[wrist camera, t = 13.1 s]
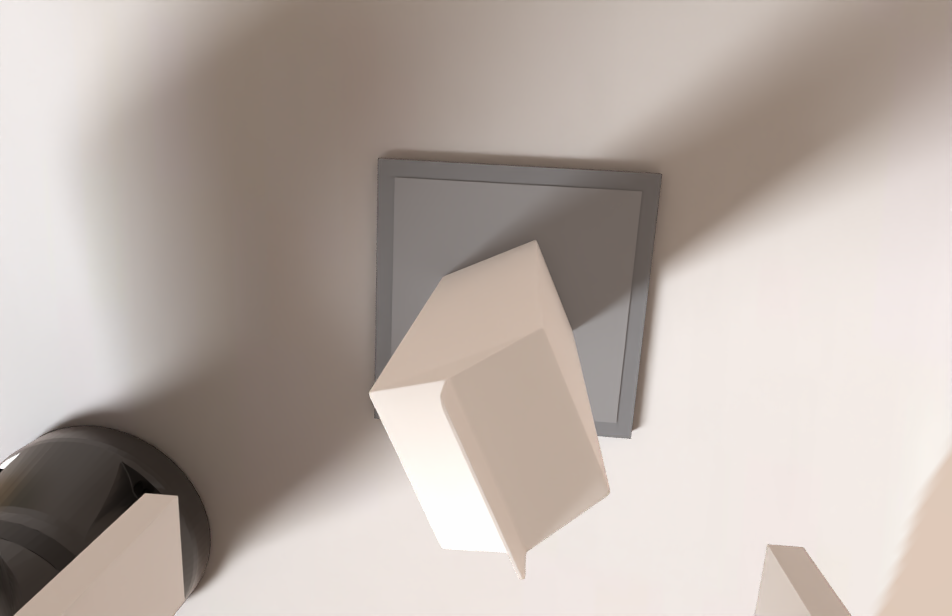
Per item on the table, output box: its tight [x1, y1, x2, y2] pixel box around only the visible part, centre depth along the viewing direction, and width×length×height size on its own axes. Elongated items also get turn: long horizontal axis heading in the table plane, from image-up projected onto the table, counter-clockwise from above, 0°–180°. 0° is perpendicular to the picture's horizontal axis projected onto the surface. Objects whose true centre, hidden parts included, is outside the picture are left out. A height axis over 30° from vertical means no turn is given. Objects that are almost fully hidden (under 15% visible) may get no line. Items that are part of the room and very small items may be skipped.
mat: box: [374, 158, 662, 439], centre depth 40 cm, size 16×16×1 cm
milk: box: [369, 240, 610, 580], centre depth 28 cm, size 6×6×22 cm
